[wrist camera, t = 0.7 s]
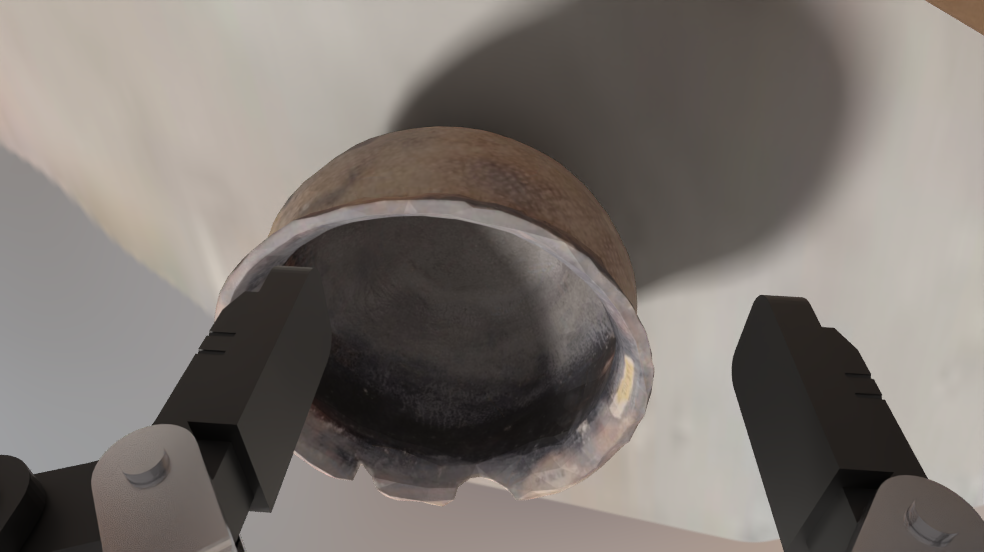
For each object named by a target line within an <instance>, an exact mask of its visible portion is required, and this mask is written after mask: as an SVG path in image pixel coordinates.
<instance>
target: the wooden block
mask: <svg viewBox="0 0 984 552" xmlns="http://www.w3.org/2000/svg"><path fill="white" fill-rule="evenodd" d="M926 1H927V2H929V3H931V4H932V5H934V6H936V7H937V8H939V9H941V10H942V11H944V12H946V13H947V14H949V15H951V16H952V17H954V18H956V19H957V20H959V21H961V22H962V23H964V24H966V25H967V26H969V27H971V28H972V29H974V30H976V31H977V32H979V33H981V34H982V35H984V0H926Z"/></svg>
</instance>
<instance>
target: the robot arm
mask: <svg viewBox="0 0 984 552" xmlns="http://www.w3.org/2000/svg"><path fill="white" fill-rule="evenodd" d="M209 332H210V333H209V336H206V338H205V339H204V341H203V342H202V344H201V346H200V347H199V352H198V354H195V356H194V357H193V359H192V361H191V362H190V364H189V366H188V367H187V369H186V371H185V372H184V374H183V376H182V377H181V379H180V380H179V382H178V384H177V385H176V387H175V389H174V390H173V392H172V394H171V395H170V397H169V399H168V400H167V402H166V404H165V405H164V407H163V409H162V410H161V412H160V414H159V415H158V417H157V419H156V420H155V422H154V423H153V424H152V426H148V427H145V428H142V429H138V430H136V431H134V432H132V433H130V434H128V435H126V436H124V437H123V438H121V439H120V440H118V441H117V442H116V443H115V444H113V445H112V446H111V447H110V448H109V449H108V450H107V451H106V452H105V453H104V454H103V455H102V457H101V458H100V459H99V460H98V461H94V462H91V463H86V464H81V465H76V466H71V467H67V468H62V469H57V470H52V471H47V472H43V473H38V474H33V473H32V472H31V471H30V470H29V468H28V467H27V466H26V464H25V463H24V462H23V461H22V460H20V459H18V458H16V457H13V456H8V455H0V552H246V549H245V546H244V543H243V540H242V537H241V535H240V531H241V528H242V526H243V524H244V521H245V519H246V516H247V514H248V511H255V512H270V513H271V512H272V509H273V506H274V504H275V501H276V498H277V495H278V493H279V490H280V488H281V485H282V482H283V479H284V477H285V474H286V471H287V469H288V466H289V463H290V461H291V458H292V455H293V453H294V450H295V447H296V445H297V442H298V439H299V437H300V434H301V431H302V428H303V426H304V423H305V420H306V418H307V415H308V412H309V410H310V407H311V404H312V402H313V399H314V396H315V394H316V391H317V388H318V385H319V383H320V380H321V377H322V375H323V372H324V369H325V367H326V364H327V361H328V358H329V354H330V349H331V340H332V332H331V324H330V319H329V314H328V309H327V304H326V299H325V294H324V289H323V284H322V279H321V275H320V272H319V271H318V269H317V268H310V267H293V266H275V267H273V268H272V269H271V271H270V273H269V274H268V276H267V278H266V280H265V282H264V283H263V285H262V287H261V289H260V291H259V292H249V291H245V292H243V293H242V294H241V295H240V296H238V297H237V298H236V299H235V300H234V301H232V302H231V303H230V304H229V305H227V306H226V307H225V308H224V309H222V311H221V313H220V314H219V316H218V318H217V319H216V321H215V323H214V324H213V326H212V328H211V329H210V331H209ZM732 382H733V387H734V390H735V393H736V397H737V400H738V403H739V406H740V410H741V413H742V416H743V420H744V423H745V426H746V429H747V433H748V436H749V439H750V442H751V446H752V449H753V452H754V455H755V459H756V462H757V465H758V468H759V472H760V475H761V478H762V481H763V485H764V488H765V491H766V494H767V498H768V501H769V504H770V507H771V511H772V514H773V517H774V521H775V524H776V527H777V530H778V534H779V537H780V540H781V543H782V547H783V550H784V552H984V521H983V520H982V518H981V517H980V516H979V514H978V513H977V512H976V511H975V510H974V509H973V507H972V506H971V505H970V504H968V503H967V502H966V501H965V500H964V499H963V498H962V497H960V496H959V495H957V494H956V493H955V492H953V491H952V490H950V489H948V488H947V487H945V486H943V485H941V484H939V483H937V482H935V481H932V480H929V479H928V478H927V476H926V475H925V473H924V471H923V469H922V467H921V465H920V464H919V462H918V460H917V458H916V456H915V454H914V453H913V451H912V449H911V447H910V445H909V443H908V441H907V440H906V438H905V436H904V434H903V432H902V430H901V429H900V427H899V425H898V423H897V421H896V419H895V418H894V416H893V414H892V412H891V410H890V408H889V406H888V405H887V403H886V401H885V400H882V394H881V392H880V390H879V388H878V386H877V384H876V383H875V381H874V379H871V373H870V371H869V370H868V368H867V366H866V364H865V362H864V360H863V359H862V357H861V355H860V353H859V351H858V350H857V349H856V348H855V347H854V346H853V345H852V344H851V343H850V342H849V341H848V340H847V339H846V338H844V337H843V336H842V335H841V334H840V333H839V332H838V331H837V330H836V329H835V328H827V327H821V325H820V323H819V321H818V319H817V317H816V315H815V313H814V311H813V309H812V307H811V305H810V303H809V302H808V300H807V299H805V298H803V297H787V296H770V295H760V296H758V297H757V298H756V300H755V301H754V303H753V306H752V308H751V311H750V313H749V316H748V319H747V321H746V324H745V326H744V329H743V332H742V334H741V337H740V339H739V342H738V345H737V347H736V350H735V353H734V356H733V361H732Z"/></svg>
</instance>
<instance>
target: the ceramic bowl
mask: <svg viewBox="0 0 984 552" xmlns="http://www.w3.org/2000/svg"><path fill="white" fill-rule="evenodd" d="M275 266H293V267H310V268H317V269H318V271H319V272H320V275H321V279H322V284H323V289H324V294H325V299H326V304H327V309H328V314H329V319H330V324H331V332H332V340H331V349H330V354H329V358H328V361H327V364H326V367H325V369H324V372H323V375H322V377H321V380H320V383H319V385H318V388H317V391H316V394H315V396H314V399H313V402H312V404H311V407H310V410H309V412H308V415H307V418H306V420H305V423H304V426H303V428H302V431H301V434H300V437H299V439H298V442H297V445H296V447H295V450H294V454H295V455H297V456H298V457H300V458H301V459H302V460H304V461H305V462H306V463H308V464H309V465H311V466H312V467H314V468H315V469H317V470H318V471H320V472H322V473H324V474H326V475H328V476H330V477H332V478H336V479H340V480H353V478H354V476H355V475H356V472H357V470H358V468H359V466H360V465H362V466H364V467H365V469H366V470H367V471H368V473H369V474H370V475H371V476H372V478H373V481H374V483H375V486H376V488H377V490H378V491H380V492H381V493H382V494H383V495H384V496H387V497H389V498H392V499H395V500H402V501H421V502H425V503H429V504H433V505H438V506H444V505H446V504H448V503H450V502H451V501H453V500H454V498H455V495H456V492H457V488H458V487H459V486H460V485H462V484H463V483H464V482H466V481H467V480H468V479H470V478H474V477H483V478H485V479H488V480H491V481H494V482H497V483H499V484H500V485H501V486H503V487H504V488H505V489H506V490H508V491H509V492H510V493H511V494H512V496H513V497H514V498H515V500H529V499H534V498H538V497H542V496H547V495H552V494H556V493H559V492H561V491H564V490H566V489H568V488H570V487H572V486H574V485H576V484H578V483H579V482H581V481H583V480H585V479H586V478H588V477H589V476H590V475H592V474H593V473H594V472H596V471H597V470H598V469H599V468H601V467H602V466H603V465H604V464H605V463H606V462H607V461H608V460H609V459H610V458H611V457H612V456H613V455H614V454H615V453H616V452H617V451H618V450H619V449H620V448H621V447H623V446H624V445H625V444H626V443H628V442H629V441H630V439H631V437H632V435H633V433H634V431H635V429H636V428H637V426H638V424H639V423H640V421H641V420H642V418H643V417H644V415H645V411H646V408H647V404H648V401H649V398H650V395H651V390H652V383H653V377H654V366H653V363H652V353H651V349H650V345H649V341H648V337H647V333H646V331H645V329H644V327H643V325H642V323H641V321H640V320H639V318H638V316H637V292H636V283H635V277H634V271H633V268H632V265H631V262H630V259H629V255H628V253H627V251H626V248H625V247H624V245H623V243H622V240H621V238H620V236H619V234H618V232H617V230H616V228H615V226H614V225H613V223H612V221H611V219H610V217H609V215H608V213H607V212H606V211H605V210H604V209H603V208H602V206H601V205H600V204H599V202H598V201H597V200H596V198H595V197H594V196H593V194H592V193H591V192H590V191H589V190H588V189H587V187H586V186H585V185H584V184H583V183H582V182H581V181H580V180H579V179H577V178H576V177H575V176H574V175H573V174H572V173H570V172H569V171H568V170H567V169H566V168H565V167H563V166H562V165H561V164H560V163H559V162H557V161H555V160H554V159H552V158H551V157H549V156H547V155H545V154H544V153H542V152H540V151H538V150H536V149H534V148H532V147H530V146H528V145H525V144H523V143H521V142H518V141H516V140H513V139H511V138H507V137H504V136H501V135H499V134H496V133H492V132H488V131H483V130H479V129H471V128H463V127H441V126H434V127H424V128H414V129H408V130H402V131H397V132H391V133H388V134H384V135H381V136H377V137H374V138H370V139H368V140H366V141H364V142H361V143H359V144H357V145H355V146H353V147H352V148H350V149H348V150H347V151H345V152H344V153H342V154H340V155H339V156H337V157H336V158H334V159H333V160H332V161H330V162H329V163H328V164H327V165H325V166H324V167H323V168H322V169H320V170H319V171H318V172H316V173H315V174H314V175H313V176H311V177H310V178H309V179H307V180H306V181H305V182H304V183H303V184H302V185H301V186H300V187H299V188H298V189H297V190H296V191H295V192H294V193H293V194H292V195H291V196H290V198H289V199H288V200H287V202H286V203H285V205H284V206H283V208H282V209H281V210H280V212H279V213H278V215H277V217H276V219H275V221H274V223H273V225H272V228H271V231H270V233H269V235H268V238H267V239H266V240H264V241H263V242H262V243H261V244H259V245H258V246H257V247H256V248H255V249H253V250H252V251H251V252H250V253H249V254H248V255H247V256H246V257H244V258H243V259H242V261H241V262H240V263H239V264H238V265H237V267H236V268H235V269H234V270H233V271H232V273H231V274H230V275H229V276H228V278H227V280H226V282H225V283H224V285H223V287H222V289H221V291H220V293H219V297H218V302H217V306H216V312H215V319H214V323H215V321H216V319H217V318H218V316H219V314H220V313H221V311H222V309H224V308H225V307H226V306H227V305H229V304H230V303H231V302H232V301H234V300H235V299H236V298H237V297H238V296H240V295H241V294H242V293H243V292H245V291H249V292H259V291H260V289H261V287H262V285H263V283H264V282H265V280H266V278H267V276H268V274H269V273H270V271H271V269H272V268H273V267H275Z"/></svg>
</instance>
